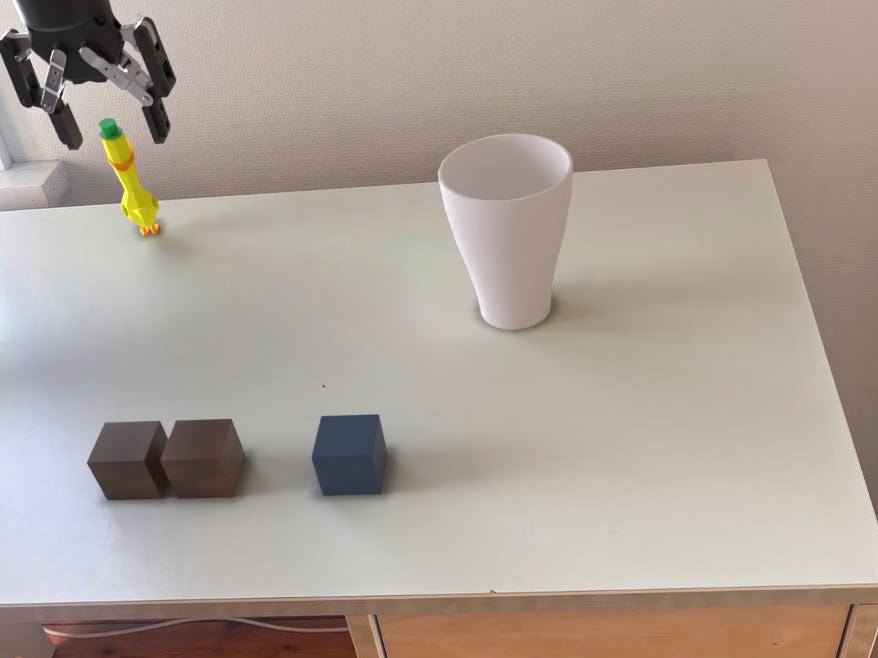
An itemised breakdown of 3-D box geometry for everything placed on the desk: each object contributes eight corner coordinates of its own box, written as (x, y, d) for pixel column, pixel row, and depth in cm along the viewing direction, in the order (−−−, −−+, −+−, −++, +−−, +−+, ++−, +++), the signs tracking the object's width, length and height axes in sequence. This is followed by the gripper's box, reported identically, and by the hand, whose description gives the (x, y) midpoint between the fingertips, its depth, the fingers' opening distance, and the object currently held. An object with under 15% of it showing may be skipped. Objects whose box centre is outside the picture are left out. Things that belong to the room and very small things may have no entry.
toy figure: (132, 220, 101) (86, 106, 92) (165, 212, 102) (123, 98, 93) (136, 254, 97) (88, 137, 88) (171, 245, 98) (128, 128, 88)
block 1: (109, 504, 74) (86, 462, 71) (125, 463, 77) (104, 422, 74) (164, 502, 74) (143, 461, 70) (179, 462, 76) (160, 420, 73)
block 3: (323, 499, 72) (310, 457, 69) (332, 458, 75) (320, 415, 72) (381, 498, 72) (371, 455, 69) (388, 456, 75) (379, 413, 71)
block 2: (179, 502, 74) (159, 461, 70) (193, 461, 76) (175, 419, 73) (235, 501, 73) (218, 459, 70) (247, 460, 76) (231, 418, 73)
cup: (469, 360, 81) (451, 213, 71) (446, 290, 88) (426, 147, 78) (590, 335, 82) (589, 186, 72) (558, 268, 89) (553, 123, 79)
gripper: (138, -70, 82) (200, 119, 94) (-20, -55, 83) (61, 129, 96) (112, -36, 77) (180, 158, 89) (-56, -21, 78) (35, 168, 91)
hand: (119, 143), depth 92 cm, fingers open, 8 cm apart
